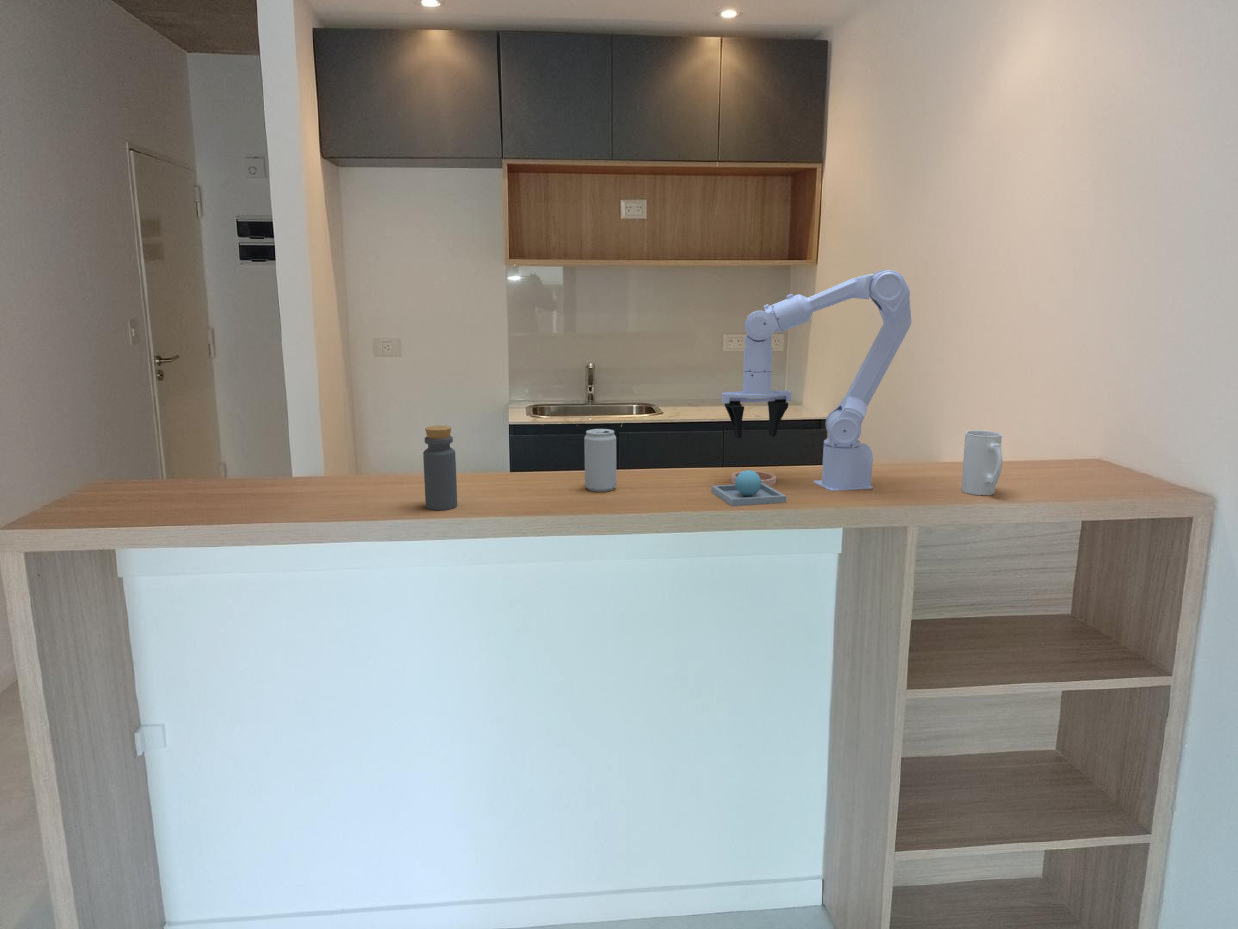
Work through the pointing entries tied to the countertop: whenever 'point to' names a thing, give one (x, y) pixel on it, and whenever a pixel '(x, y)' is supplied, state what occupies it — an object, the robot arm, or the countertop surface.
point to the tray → (737, 499)
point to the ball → (748, 483)
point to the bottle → (439, 469)
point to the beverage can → (600, 460)
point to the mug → (981, 462)
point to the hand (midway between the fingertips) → (755, 436)
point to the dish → (764, 476)
